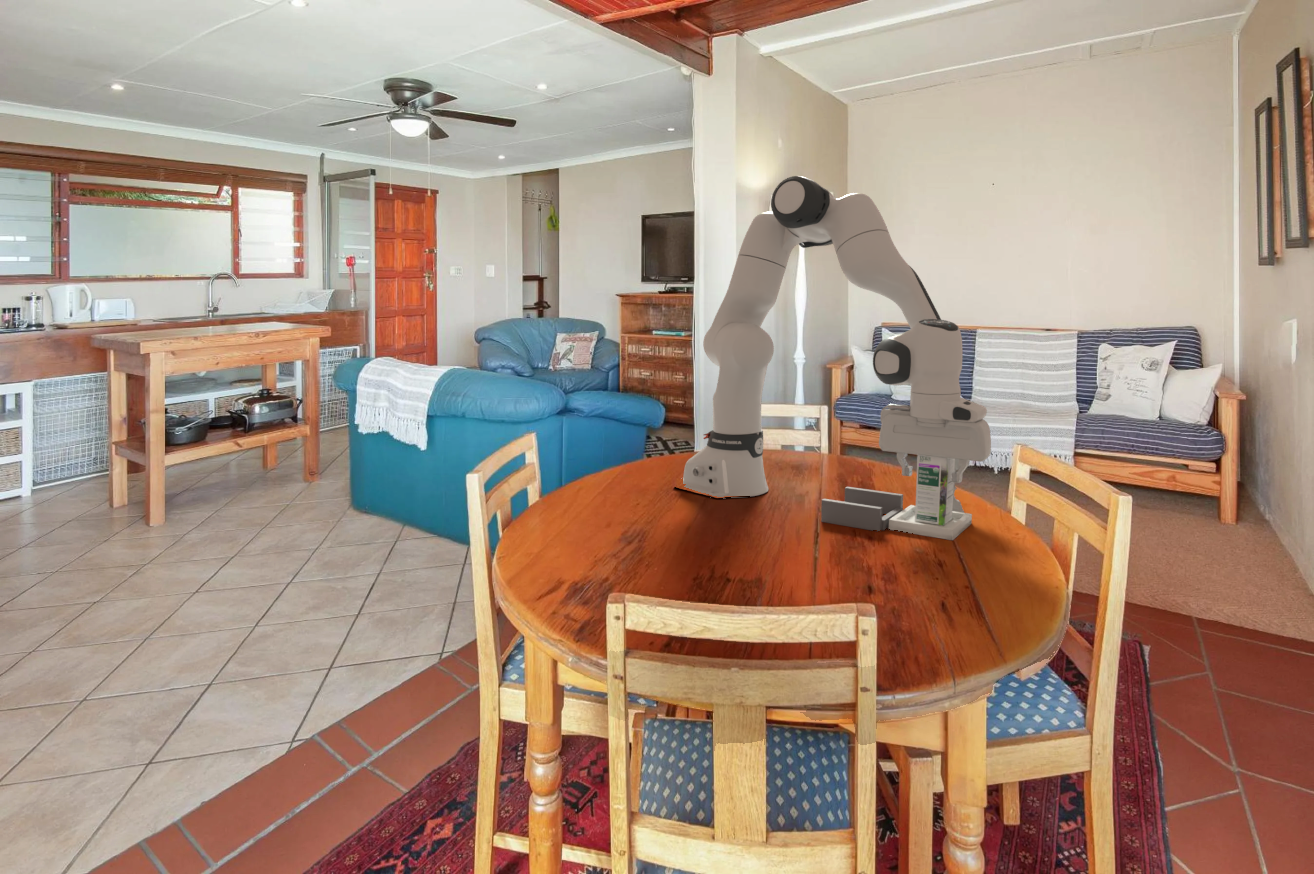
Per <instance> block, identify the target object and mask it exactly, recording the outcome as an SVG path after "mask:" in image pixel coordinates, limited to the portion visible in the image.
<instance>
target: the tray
mask: <svg viewBox="0 0 1314 874" xmlns="http://www.w3.org/2000/svg"><path fill="white" fill-rule="evenodd" d="M915 508H916V505H914V504H910V505H908V506H907V507H906V508H903V510H902V511H901V512H899V513H898V514H896V515H895V516H894V517H892V518H891V519H889V527H888V530H889V529H890V530H889V531H894V530H898V531H897V532H900V531H903V532H902V533H906V532H908V533H907V534H912V533H913V534H914V535H917V536H918V535H919V536H924V537H930V538H937V539H943V540H948V541H954V540H955V539H956V538H957V537H958V536H960V535H961V533H963V532H964V531H965V530H966V529H968V528H969V527H970V526H971V525H972V520H973V518H972V517H973V514H972V513H968V512H964V513H962V512H955V511H952V519H951V520H950V521H949V522H948V523H946V524H945V525H944V526H940V525H935V524H929V523H923V522H915Z"/></svg>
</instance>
